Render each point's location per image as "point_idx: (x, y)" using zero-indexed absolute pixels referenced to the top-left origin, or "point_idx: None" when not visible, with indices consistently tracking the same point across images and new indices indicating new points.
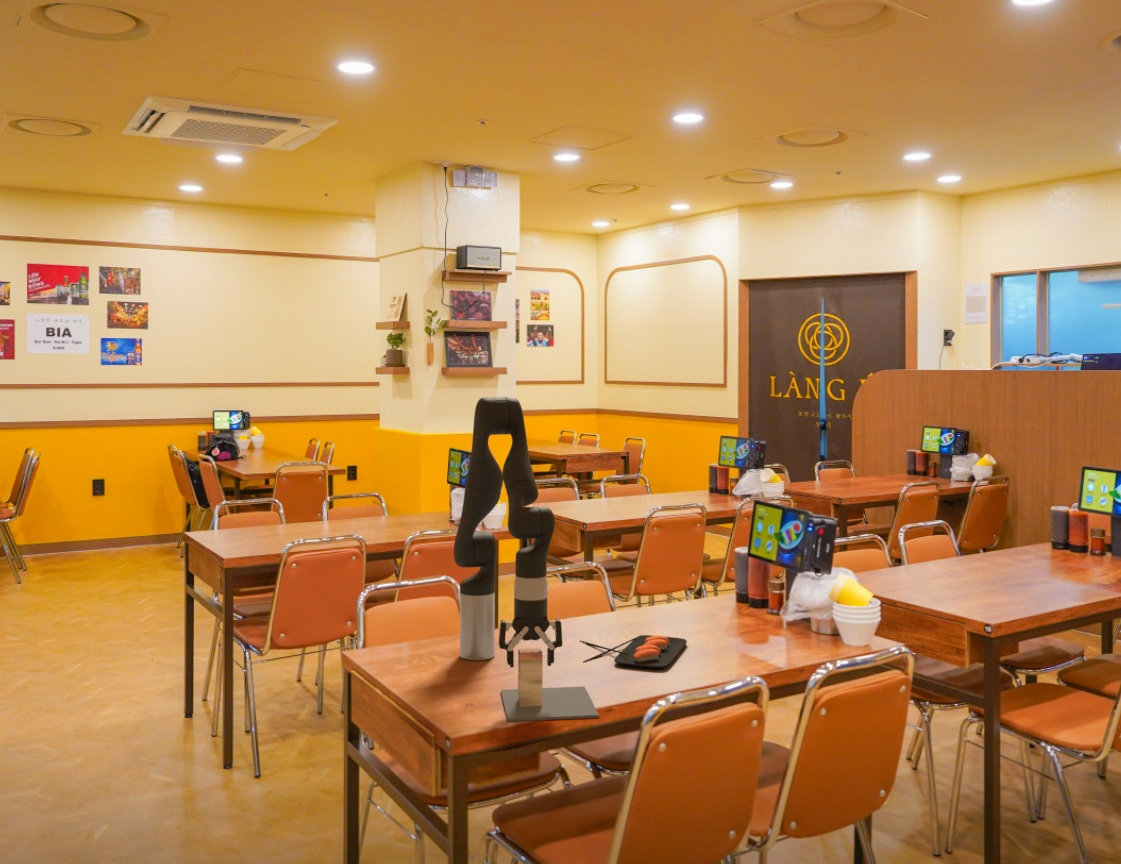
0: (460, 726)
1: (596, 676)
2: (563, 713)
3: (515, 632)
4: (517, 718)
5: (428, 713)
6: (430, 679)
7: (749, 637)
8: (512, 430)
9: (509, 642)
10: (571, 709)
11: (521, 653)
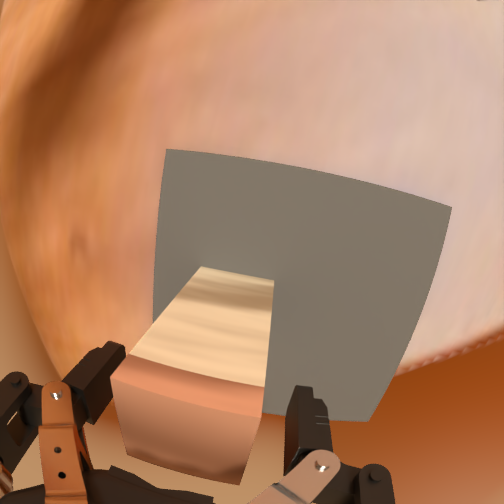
0: (73, 363)
1: (499, 110)
2: None
3: (42, 458)
4: None
5: (19, 271)
6: (48, 32)
7: None
8: None
9: (47, 413)
10: (327, 386)
11: (132, 454)
